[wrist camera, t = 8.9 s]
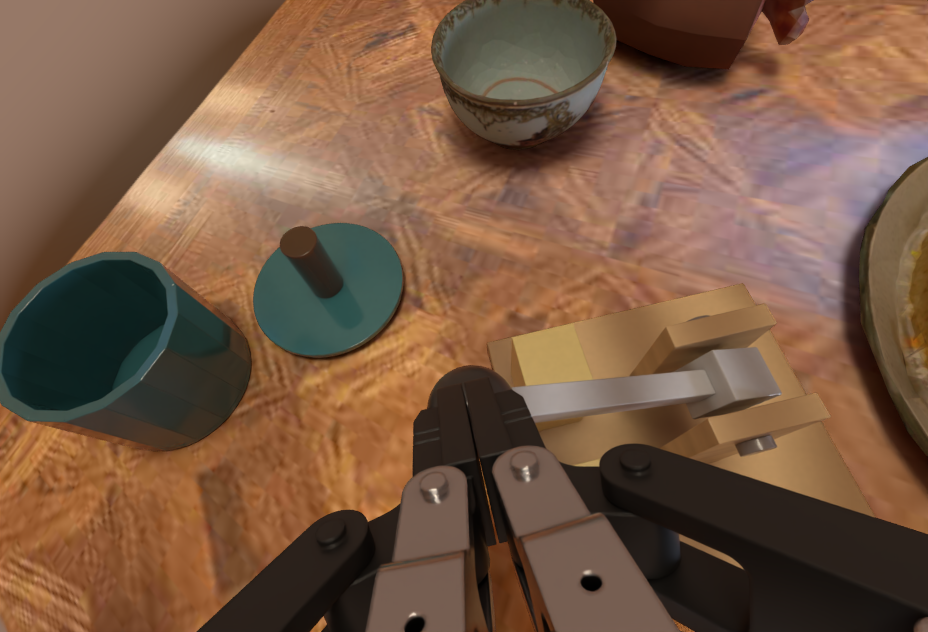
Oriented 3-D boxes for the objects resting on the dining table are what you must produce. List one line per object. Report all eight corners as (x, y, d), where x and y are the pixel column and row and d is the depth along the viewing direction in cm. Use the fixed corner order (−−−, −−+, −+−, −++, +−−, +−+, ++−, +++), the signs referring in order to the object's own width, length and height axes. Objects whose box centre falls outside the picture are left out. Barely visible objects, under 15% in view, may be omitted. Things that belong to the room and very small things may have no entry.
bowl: (567, 202, 37) (582, 121, 30) (418, 160, 41) (399, 78, 34) (615, 90, 43) (638, -2, 35) (479, 60, 46) (474, -30, 39)
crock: (146, 484, 30) (26, 465, 23) (87, 375, 34) (-33, 328, 26) (277, 380, 33) (209, 330, 25) (209, 289, 37) (131, 222, 29)
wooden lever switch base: (555, 614, 25) (591, 665, 15) (487, 348, 33) (478, 255, 22) (871, 536, 26) (1125, 532, 15) (735, 291, 33) (845, 171, 22)
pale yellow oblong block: (527, 434, 29) (532, 408, 23) (510, 373, 30) (511, 336, 25) (581, 421, 29) (598, 393, 23) (561, 361, 30) (573, 322, 25)
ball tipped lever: (424, 474, 15) (454, 451, 13) (410, 388, 17) (434, 352, 14) (735, 423, 21) (794, 401, 19) (706, 363, 23) (758, 334, 20)
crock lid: (312, 392, 32) (269, 359, 26) (233, 291, 36) (180, 242, 30) (435, 291, 35) (421, 240, 29) (348, 208, 39) (320, 148, 33)
